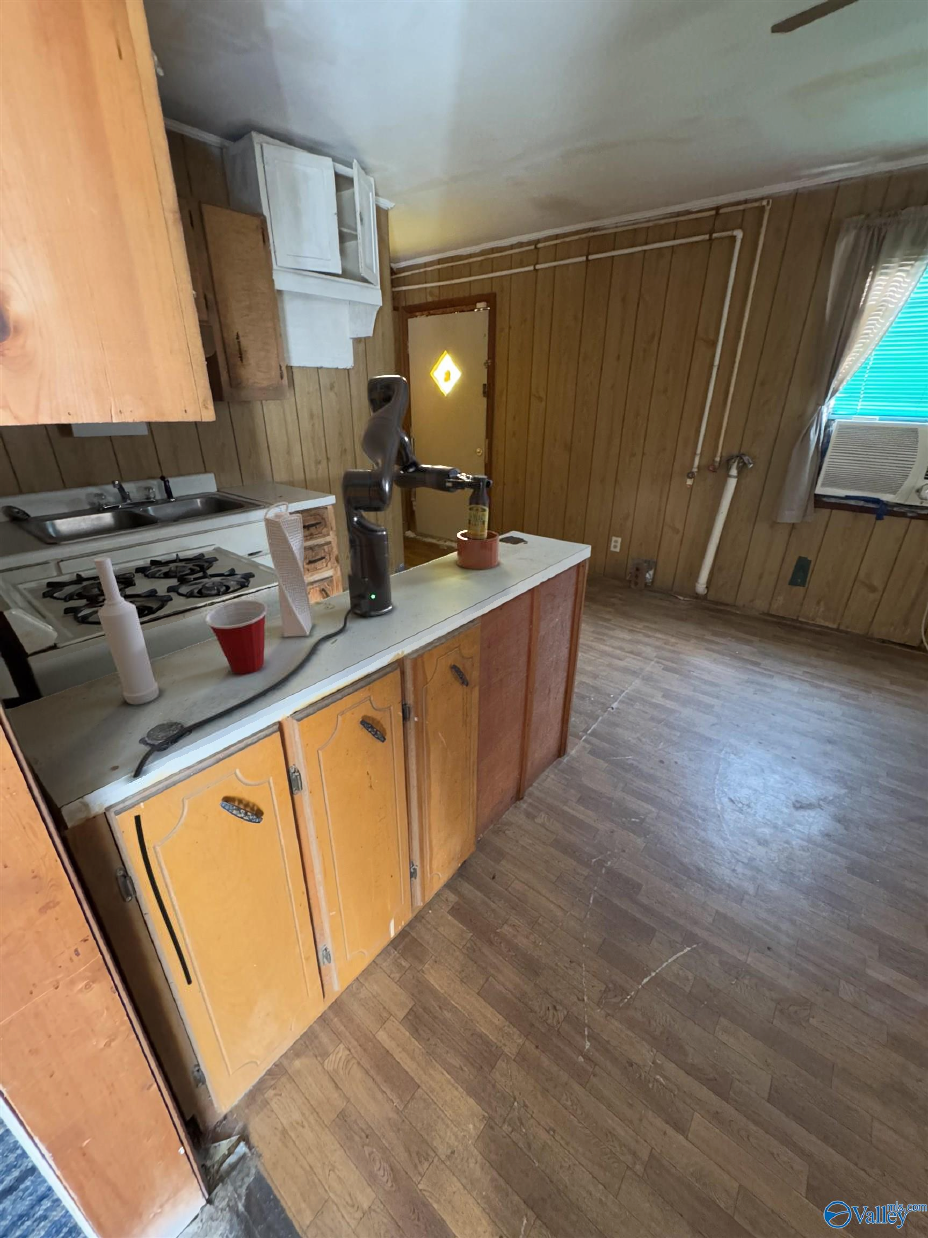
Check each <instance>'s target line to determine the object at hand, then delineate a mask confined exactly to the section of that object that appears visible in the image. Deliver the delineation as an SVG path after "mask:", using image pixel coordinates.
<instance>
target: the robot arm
mask: <svg viewBox="0 0 928 1238" xmlns="http://www.w3.org/2000/svg"><path fill="white" fill-rule="evenodd" d="M366 398H367V403H368V405H369V409H370V410H371V413H372V414H371V415H370V416H369V417H368V418H367V420H366V422H365V423H364V426H363V430H362V434H361V439H360V444H361V449H362V451H363V454H364V455H365V456H366V458H367V459H368V460H369V461H370V463H371V464H372V465H373V466H374V467H375V468H376V469H363V468H362V469H359V468H358V469H352V468H351V469H346V470H345V471H343V473H342V475H341V479H340V490H341V492H340V493H341V500H342V506H343V512H344V519H345V528H346V535H347V544H348V554H349V556H348V557H349V565H350V573H348V574H347V583H348V593H349V605H350V608H349V610H348V611H347V612H346V613H345V615H344V618H343V625H342V627H341V628H339V629H338V630H337V631H334V632H332V633H329V634H326V635H324V636H322V637H321V638H319V639H318V640H317V641H316V642H315V643H314V645H313V646H312V648H311V649H310V651H308V654H307V655H306V656H305V657H304V658H303V659H302V660H301V662H300V663H299V664H298V665H297V666H296V667H295V668H294V669H292V670H291V671H290V672H289V673H288V674H286V675H285V676H284V677H282V678H281V679H280V680H278V681H277V682H275V683H274V684H272V685H270V686H269V687H266V688H265V689H263V690H262V691H259V692H258V693H257V694H254V695H253V696H251V697H248V698H247V699H246V700H243V701H241V702H238V703H237V704H235V705H232V706H230V707H228V708H226V709H224V710H222V711H219V712H218V713H216V714H213V715H211V716H208V717H206V718H204V719H202V720H199V721H197V722H195V723H192V724H190V725H188V726H185V727H184V728H182V729H180V730H178V731H176V732H174V733H173V734H171V735H170V736H168V737H166V738H165V739H163V740H162V741H160V742H159V743H157V744H155V745H154V746H152V747H151V748H150V749H148V751H147V752H146V753H145V754H144V755H143V757H141V759H140V761H139V763H138V764H137V766H136V768H135V770H134V773H133V776H132V777H133V778H134V779H136V778H138V777H140V775H141V774H142V771H143V770H144V768H145V765H146V764H147V762H148V760H149V759H150V758H151V756H153V754H154V753H155V752H157V751H158V750H160V749H161V748H163V747H164V746H166V745H168V744H169V743H171V742H172V741H175V739H177V738H179V737H180V736H182V735H184V734H186V733H187V732H190V731H192V730H194V729H197V728H199V727H201V726H204V725H206V724H208V723H211V722H213V721H215V720H217V719H219V718H221V717H224V716H225V715H228V714H230V713H232V712H234V711H236V710H239V709H240V708H242V707H245V706H246V705H248V704H250V703H252V702H254V701H256V700H258V699H260V698H261V697H263V696H265V695H267V694H268V693H270V692H272V691H273V690H275V689H277V688H278V687H280V686H281V685H282V684H284V683H285V682H286V681H288V680H289V679H290V678H291V677H292V676H294V675H295V674H296V673H297V672H299V670H301V668H303V667H304V665H305V664H306V663H307V662H308V661H309V660H310V659H311V657H312V656H313V655H314V653H315V651H316V649H317V648H318V646H320V644H321V643H323V642H324V641H325V640H327V639H330V638H332V637H335V636H337V635H340V634H342V633H343V631H345V629H346V628H347V625H348V619H349V616H350V615H351V613H352V612H353V613H355V614H357V615H359V616H362V617H365V618H369V617H375V616H382V615H385V614H387V613H390V612H391V611H392V610H393V607H394V606H393V598H392V584H391V583H392V581H391V565H390V563H391V561H390V547H389V531H388V529H387V527H385V526H384V525H382V524H380V523H376V522H374V521H372V520H370V519H368V518H367V517H366V516H364V514H363V513H382V512H386V511H388V509H389V508H390V506H391V503H392V500H393V499H392V498H393V491H394V490H393V489H394V485H395V486H396V487H397V488H399V489H402V490H414V489H419V488H426V489H432V490H434V491H440V492H445V493H451V494H453V493H456V492H458V490H461V491H465V490H473V489H475V490H482V482H477V481H473V477H474V476H475V475H476V474H472V475H469V474H467V473H461V471H460V470H459V468H457V467H452V466H445V465H431V464H421V463H420V462H419V461H418V459H417V458H416V455H415V454H414V452H413V448H412V444H411V440H410V438H409V436H408V434H407V433H406V431H405V430H404V429H403V428H402V427H403V423H404V422H403V421H404V418H405V416H406V413H407V410H408V407H409V401H410V389H409V385H408V382H407V380H406V378H405V377H404V376H401V375H380V376H379V375H378V376H372V377H369V378H368V379H367V382H366ZM395 466H396V467H395ZM491 488H493V481H492V480H491V479H487V482H486V489H491ZM133 817H134V819H133V820H134V825H135V826H134V827H135V831H136V837H137V841H138V842H137V843H138V846H139V850H140V855H141V858H142V861H143V866H144V869H145V872H146V875H147V878H148V882H149V884H150V887H151V890H152V893H153V895H154V898H155V901H156V904H157V906H158V908H159V911H160V914H161V916H162V920H163V922H164V925H165V926H166V930H167V931H168V935H169V937H170V940H171V942H172V944H173V947H174V950H175V952H176V955H177V957H178V960H179V963H180V966H181V969H182V972H183V975H184V978H185V980H186V984H187V985H188V986H190V985H192V983H193V980H192V977H191V973H190V971H189V968H188V964H187V962H186V959H185V956H184V953H183V950H182V948H181V946H180V942H179V939H178V938H177V934H176V932H175V929H174V926H173V925H172V922H171V919H170V916H169V914H168V912H167V909H166V906H165V903H164V901H163V898H162V895H161V892H160V889H159V887H158V884H157V881H156V878H155V875H154V871H153V868H152V865H151V862H150V858H149V855H148V854H149V853H148V850H147V846H146V842H145V836H144V831H143V826H142V819H141V818H142V817H141V814H137V815H134V816H133Z"/></svg>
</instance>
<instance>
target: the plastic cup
mask: <svg viewBox="0 0 928 1238" xmlns="http://www.w3.org/2000/svg"><path fill="white" fill-rule="evenodd" d="M267 610H268V605H267V604H266V603H264V602H263V601H260V600H256V599H240V600H232V601H230V602H226V603H223V604H220V605H218V606H216V607H214V608H212V609H211V610H209V612H207V613H206V614H205V615H204V618H203V620H204V622H205V623H206V624H207V626H208V627H210V629H211V630H212V631H213V634H214V636H215V637H216V639H217V641H218V644H219V646H220V648H221V651H222V652H223V655H224V657H225V658H226V660H227V663H228V665H229V667H230V669H231V671H232V673H234V674H237V675H249V674H252V673H256V672H258V671H259V670H261V669H262V668H263V667H264V663H265V624H266V615H267V612H268V611H267Z"/></svg>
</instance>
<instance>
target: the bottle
mask: <svg viewBox="0 0 928 1238" xmlns="http://www.w3.org/2000/svg"><path fill="white" fill-rule="evenodd" d="M93 562H94V564H95V569H96V572H97V575H98V577H99V581H100V584H101V587H102V591H103V594H104V597H105V600H104V605H103V606H102V607H101V608H100V609H99V611H98V612H97V616H98V618H99V621H100V624H101V627H102V630H103V633H104V636H105V638H106V641H107V644H108V648H109V650H110V653H111V656H112V659H113V661H114V664H115V668H116V670H117V674H118V676H119V678H120V679H119V680H120V683H121V685H122V688H123V691H122V693H123V697H124V699H125V701H126V702H127V703H128V704H130V705H136V706H137V705H142V704H147V703H149V702H150V701H153V700H155V699H156V698H158V696H159V694H160V689H159V685H158V682H156V681H155V677H154V673H153V669H152V666H151V662H150V657H149V653H148V650H147V646H146V642H145V639H144V635H143V631H142V625H141V622H140V619H139V614H138V610H137V608H136V605H135V604H134V603H132V602H129V601H126V600H125V598H124V597H122V596H121V593H120V590H119V587H118V583H117V580H116V577H115V573H114V568H113V564H112V561H111V558H110V557H109V556H102V557H96V558H94V559H93Z"/></svg>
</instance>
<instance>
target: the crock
mask: <svg viewBox="0 0 928 1238" xmlns="http://www.w3.org/2000/svg"><path fill="white" fill-rule="evenodd" d="M499 541H500V534H499V533H497V532H495V531H493V530H487V537H486V540H471V539H467V530H463V531H460V532H458V533H457V536H456V550H457V551H456V561H457V562H456V563H457V565H458V566H459V567H461V568H464V569H469V570H486V569H492V568H495V567H496V566H498V564H499V543H500V542H499Z"/></svg>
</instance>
